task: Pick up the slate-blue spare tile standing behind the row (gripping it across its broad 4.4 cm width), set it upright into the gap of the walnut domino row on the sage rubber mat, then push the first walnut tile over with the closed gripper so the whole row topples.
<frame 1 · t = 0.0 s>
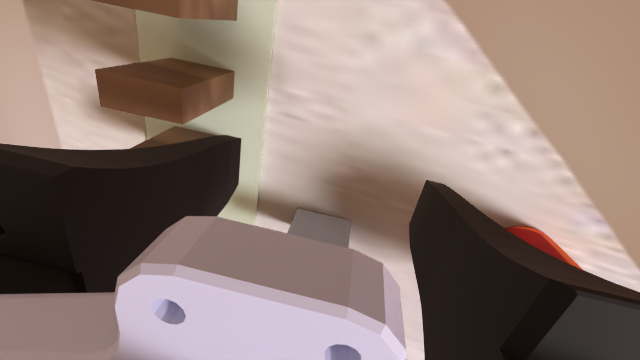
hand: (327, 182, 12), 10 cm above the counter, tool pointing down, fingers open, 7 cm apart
spare tile: (322, 223, 25), on the counter
mat: (204, 142, 23), on the counter
tile4: (202, 78, 21), resting on mat
tile3: (202, 143, 23), resting on mat
paper cup: (513, 254, 24), on the counter
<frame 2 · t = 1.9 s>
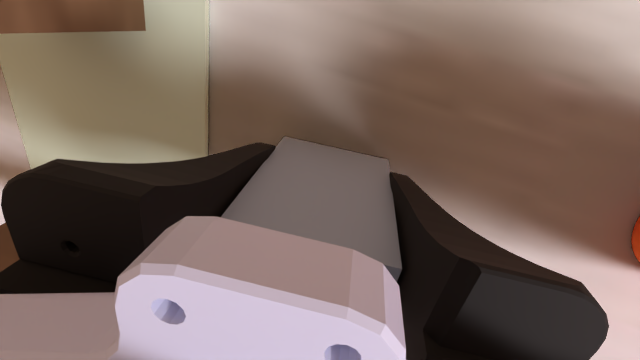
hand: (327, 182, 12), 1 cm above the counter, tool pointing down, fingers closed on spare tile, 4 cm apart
spare tile: (331, 167, 13), on the counter, touching gripper
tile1: (119, 210, 16), resting on mat
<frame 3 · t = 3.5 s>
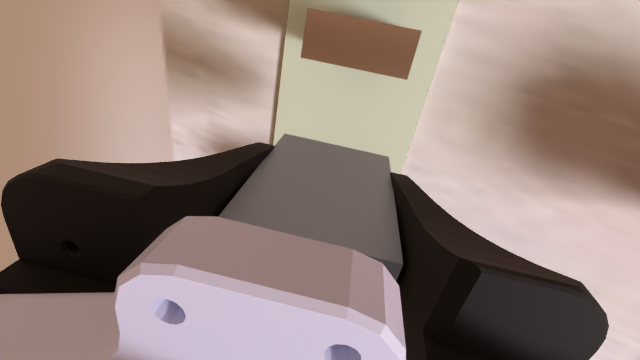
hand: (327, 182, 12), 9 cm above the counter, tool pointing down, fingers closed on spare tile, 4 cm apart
spare tile: (332, 164, 13), point 8 cm above the counter, touching gripper
mat: (362, 38, 18), on the counter
tile3: (362, 38, 18), resting on mat
when the fingers open (3 cm above the counter, at t = 5.2 s): spare tile drops 1 cm, resting on mat.
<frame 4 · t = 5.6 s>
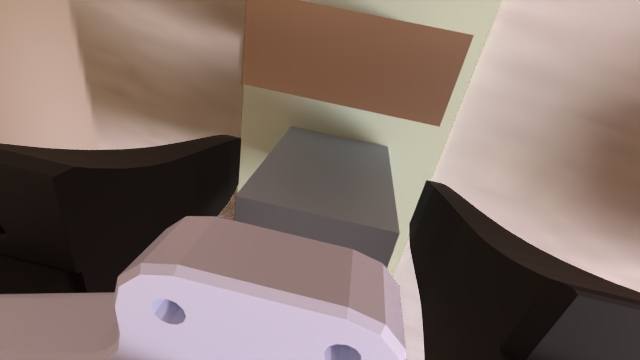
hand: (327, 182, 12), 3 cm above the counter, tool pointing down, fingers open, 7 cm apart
spare tile: (335, 154, 14), resting on mat
mat: (359, 44, 12), on the counter
tile3: (359, 44, 12), resting on mat
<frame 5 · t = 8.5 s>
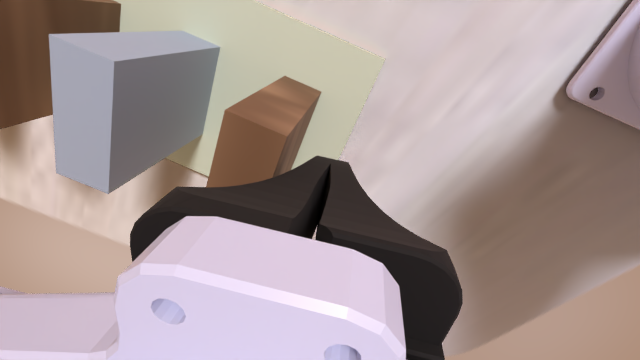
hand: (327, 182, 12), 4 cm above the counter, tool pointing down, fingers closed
spare tile: (193, 85, 15), resting on mat
mat: (105, 45, 15), on the counter
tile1: (287, 126, 15), resting on mat, touching gripper
tile3: (100, 45, 15), resting on mat
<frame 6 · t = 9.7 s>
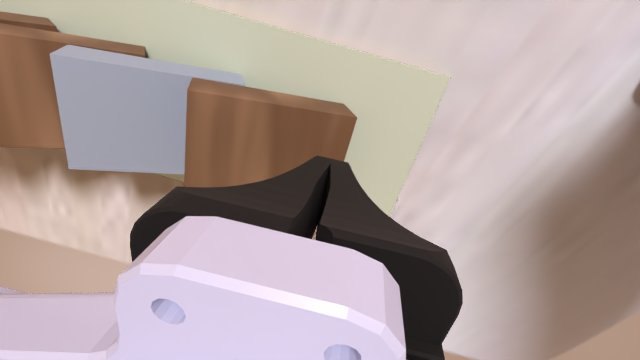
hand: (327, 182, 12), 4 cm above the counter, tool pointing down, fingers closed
spare tile: (237, 126, 14), point 1 cm above the counter, tilted 63°, touching mat, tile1, tile3
mat: (169, 97, 15), on the counter
tile4: (59, 71, 15), point 1 cm above the counter, tilted 37°, touching mat
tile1: (337, 155, 14), point 1 cm above the counter, tilted 67°, touching mat, spare tile
tile3: (146, 99, 15), point 1 cm above the counter, tilted 55°, touching mat, spare tile
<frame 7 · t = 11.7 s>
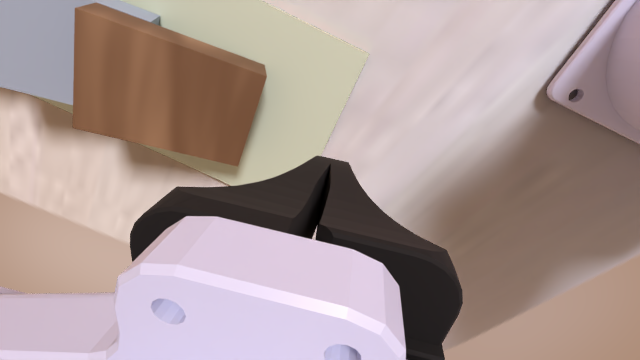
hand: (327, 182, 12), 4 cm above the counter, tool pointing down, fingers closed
spare tile: (148, 69, 14), point 1 cm above the counter, tilted 68°, touching mat, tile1, tile3
mat: (86, 30, 15), on the counter
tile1: (251, 116, 14), point 1 cm above the counter, tilted 68°, touching mat, spare tile
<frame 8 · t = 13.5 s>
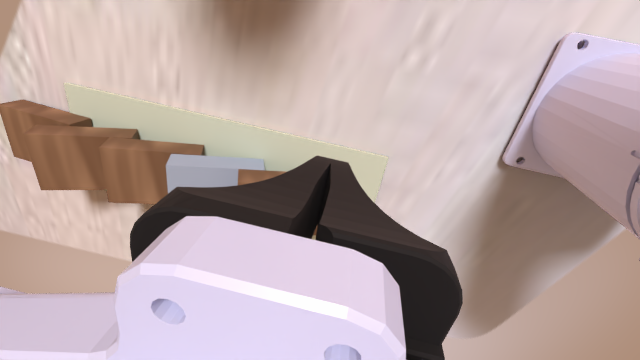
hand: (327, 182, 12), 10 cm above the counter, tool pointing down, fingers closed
spare tile: (261, 189, 24), point 1 cm above the counter, tilted 68°, touching mat, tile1, tile3
mat: (220, 171, 25), on the counter
tile4: (138, 159, 24), point 1 cm above the counter, tilted 65°, touching mat, tile3, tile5
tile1: (324, 204, 23), point 1 cm above the counter, tilted 68°, touching mat, spare tile
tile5: (85, 147, 24), point 1 cm above the counter, tilted 94°, touching mat, tile4
tile3: (202, 175, 24), point 1 cm above the counter, tilted 69°, touching mat, spare tile, tile4
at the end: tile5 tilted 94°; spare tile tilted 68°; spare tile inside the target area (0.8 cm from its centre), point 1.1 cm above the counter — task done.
